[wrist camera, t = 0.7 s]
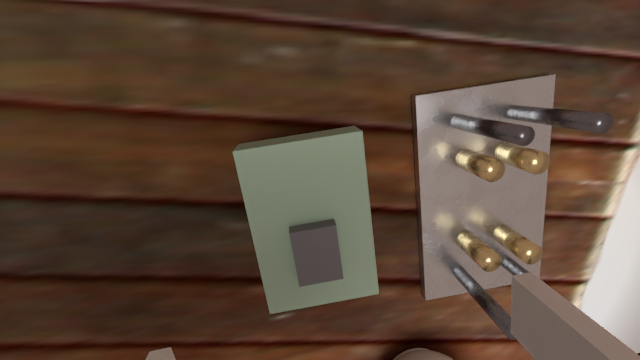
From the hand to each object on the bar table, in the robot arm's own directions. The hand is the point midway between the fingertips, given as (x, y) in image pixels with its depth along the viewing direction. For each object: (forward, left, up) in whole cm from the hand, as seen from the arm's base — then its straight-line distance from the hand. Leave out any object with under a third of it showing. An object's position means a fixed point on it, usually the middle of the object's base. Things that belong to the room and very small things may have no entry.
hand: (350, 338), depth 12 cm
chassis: (+15, -3, -17) cm, 23 cm away
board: (-1, 0, -12) cm, 12 cm away
